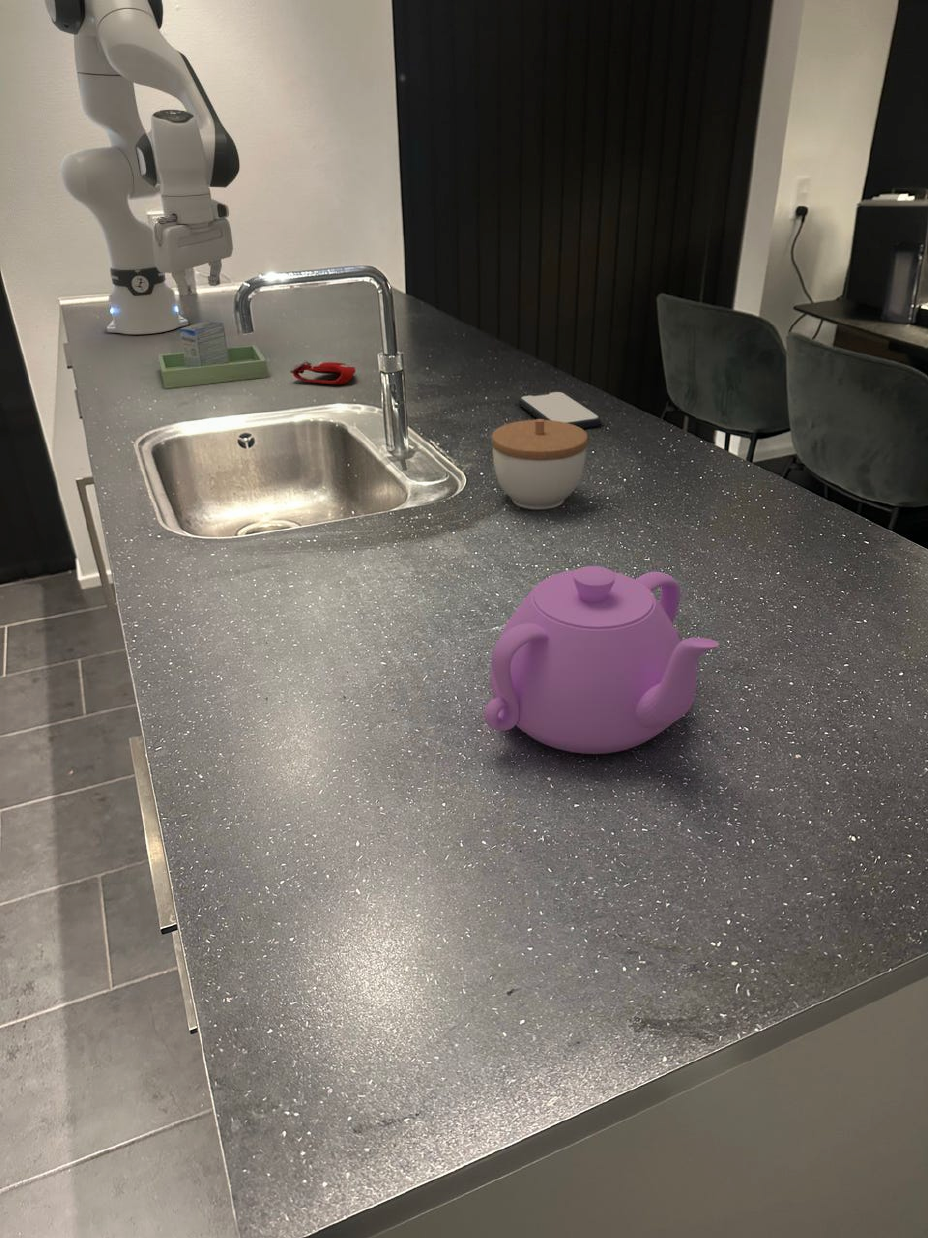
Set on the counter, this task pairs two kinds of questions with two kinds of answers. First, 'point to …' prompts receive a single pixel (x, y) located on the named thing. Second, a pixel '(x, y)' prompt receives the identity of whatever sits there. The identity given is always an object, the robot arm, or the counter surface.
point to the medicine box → (204, 344)
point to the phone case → (559, 409)
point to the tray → (213, 368)
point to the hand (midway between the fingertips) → (200, 289)
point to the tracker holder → (325, 371)
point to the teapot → (594, 662)
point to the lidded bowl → (539, 461)
